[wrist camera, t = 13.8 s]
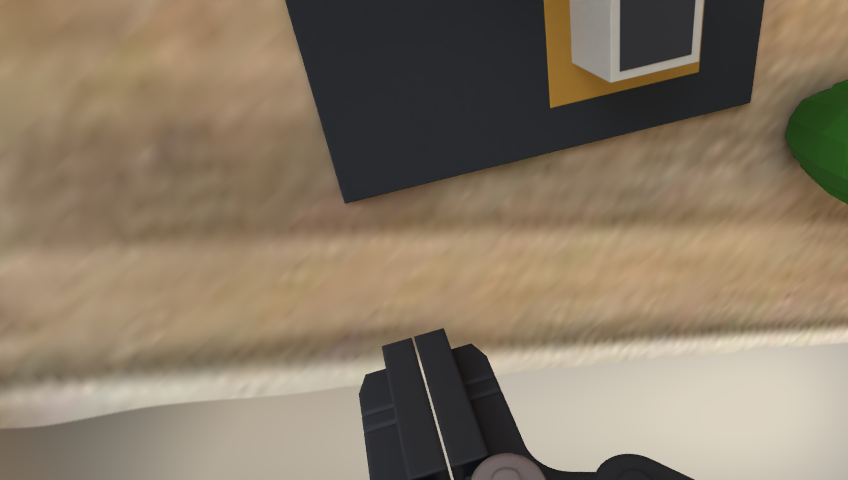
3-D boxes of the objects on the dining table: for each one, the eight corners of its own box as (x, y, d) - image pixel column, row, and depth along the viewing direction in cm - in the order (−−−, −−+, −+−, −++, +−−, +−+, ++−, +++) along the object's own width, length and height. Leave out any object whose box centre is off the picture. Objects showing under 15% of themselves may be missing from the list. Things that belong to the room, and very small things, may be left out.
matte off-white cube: (708, -42, 26) (652, -47, 31) (610, -20, 26) (568, -27, 30) (699, 61, 29) (649, 44, 33) (611, 83, 29) (571, 63, 33)
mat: (262, -81, 27) (261, -81, 27) (784, -192, 29) (791, -194, 28) (344, 200, 35) (344, 204, 35) (745, 101, 37) (750, 103, 37)
